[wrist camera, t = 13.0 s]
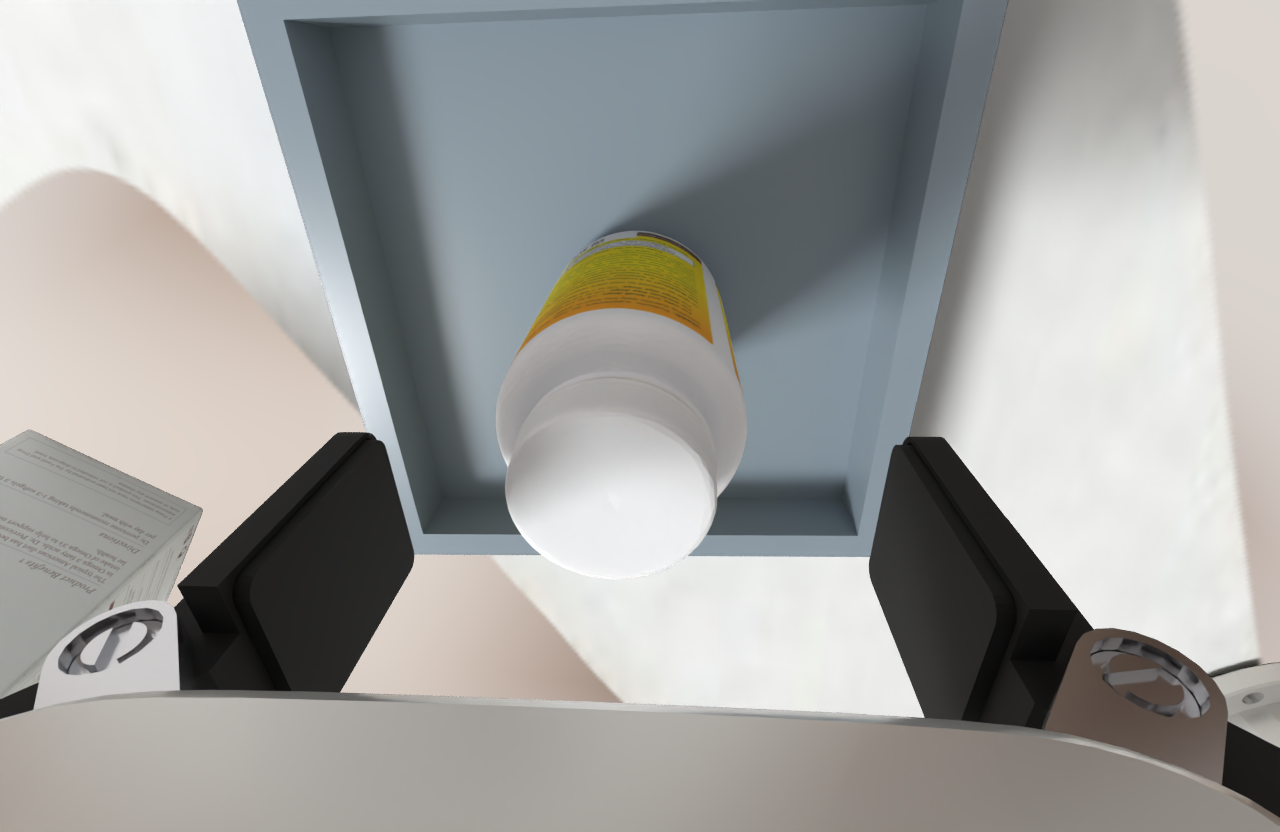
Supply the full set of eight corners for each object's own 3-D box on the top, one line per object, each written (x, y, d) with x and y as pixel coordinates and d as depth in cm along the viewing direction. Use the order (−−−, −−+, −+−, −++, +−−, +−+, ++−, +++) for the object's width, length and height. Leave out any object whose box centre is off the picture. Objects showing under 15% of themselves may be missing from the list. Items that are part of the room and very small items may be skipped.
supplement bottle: (522, 281, 19) (393, 453, 10) (669, 191, 18) (666, 303, 9) (611, 410, 21) (570, 642, 13) (750, 341, 20) (813, 550, 11)
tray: (962, -40, 15) (1023, -66, 13) (858, 506, 24) (881, 556, 22) (298, -12, 16) (227, -31, 14) (430, 505, 25) (402, 554, 22)
